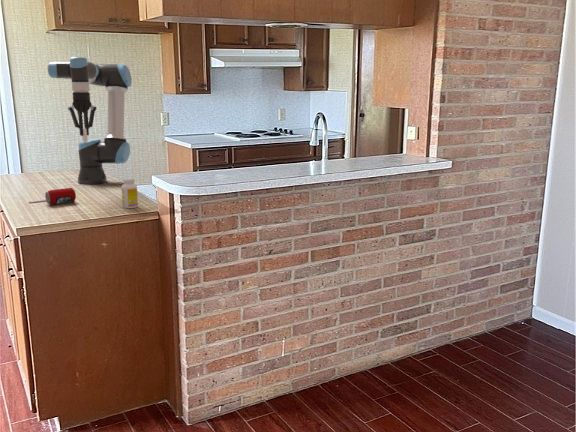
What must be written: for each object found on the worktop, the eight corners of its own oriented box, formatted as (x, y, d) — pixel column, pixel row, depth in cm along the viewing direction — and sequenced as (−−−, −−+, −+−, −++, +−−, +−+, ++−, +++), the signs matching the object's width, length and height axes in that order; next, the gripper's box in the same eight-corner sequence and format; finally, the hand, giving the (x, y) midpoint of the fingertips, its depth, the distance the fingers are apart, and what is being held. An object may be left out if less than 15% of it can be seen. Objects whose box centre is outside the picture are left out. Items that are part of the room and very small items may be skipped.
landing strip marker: (68, 198, 265) (68, 197, 265) (69, 198, 264) (69, 198, 264) (28, 202, 255) (28, 202, 255) (29, 203, 253) (29, 202, 253)
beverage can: (73, 203, 259) (46, 206, 252) (70, 189, 260) (43, 192, 252) (77, 200, 254) (50, 203, 247) (74, 185, 255) (47, 189, 247)
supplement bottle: (141, 206, 250) (139, 178, 247) (132, 209, 244) (130, 180, 241) (128, 204, 252) (126, 177, 249) (119, 208, 246) (117, 179, 243)
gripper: (92, 91, 263) (96, 140, 269) (64, 91, 255) (68, 142, 261) (97, 91, 257) (101, 142, 263) (68, 92, 249) (73, 144, 255)
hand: (85, 142), depth 262 cm, fingers closed
